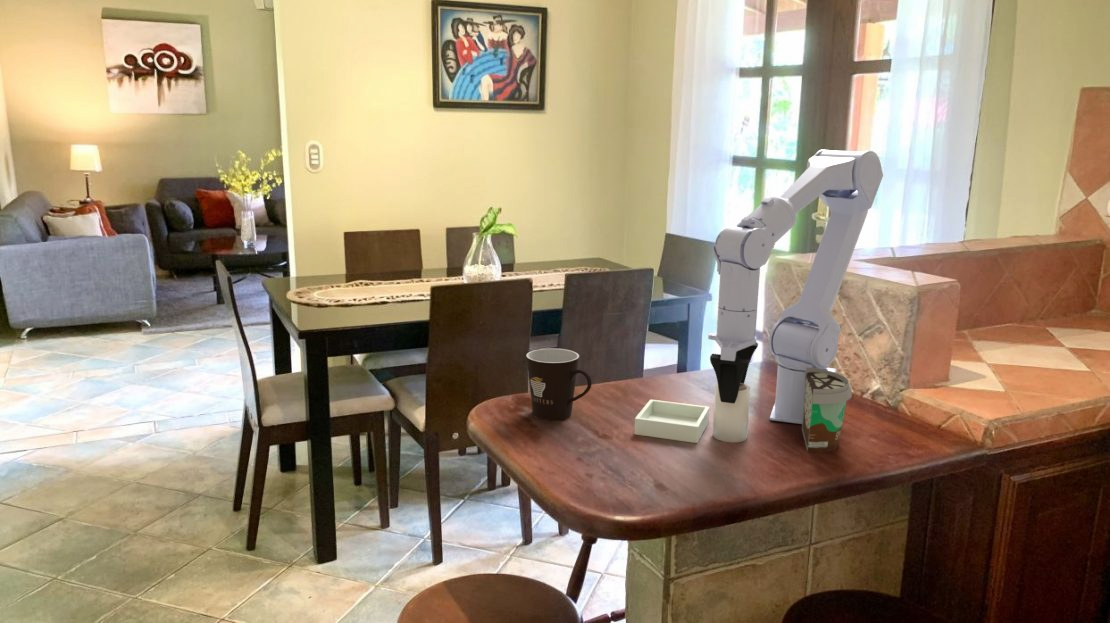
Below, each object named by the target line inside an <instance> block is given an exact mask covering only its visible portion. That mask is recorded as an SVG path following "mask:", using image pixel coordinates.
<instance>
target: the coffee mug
mask: <svg viewBox="0 0 1110 623" xmlns="http://www.w3.org/2000/svg"><path fill="white" fill-rule="evenodd" d="M525 356H526V364H527V365H526V366H527V367H526V368H527V373H528V382H529V384H528V385H529V390H530V392H529V393H530V400H531V409H532V415H533V416H534V417H535V416H536V417H535V418H537V417H538V418H537V419H539V418H541V419H540V420H543V419H545V420H544V421H562V420H566V419H568V418H570V417H571V416H572V412H573V405H574V402H575V401H577V400H579V399H581V398H583V397H584V396H586V394H588V393H589V391H590V390H591V388H592V379H591V376H590V374H589V373H588V372H587V371H585V370H584V369H580V368H579V359H580V354H579V353H578V352H575V351H573V350H570V349H565V348H541V349H540V348H539V349H535V350H531V351H528V352H527V353H526V355H525ZM578 368H579V369H578ZM577 374H581V375H583V376H584V377H585V379H586V382H587V385H586V386H587V387H586V389H584V391H583V392H581V393H579V394H577V395H575V389H576V388H575V387H576V382H577ZM546 419H547V420H546ZM561 419H562V420H561Z"/></svg>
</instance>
